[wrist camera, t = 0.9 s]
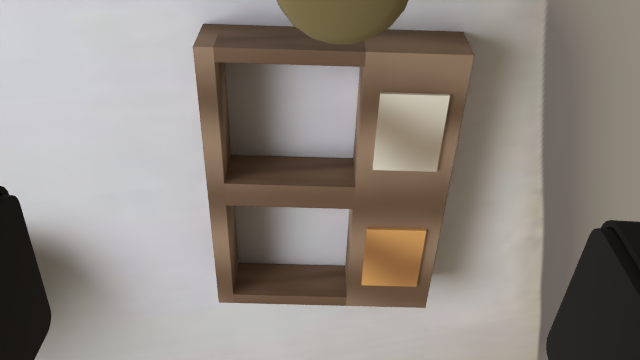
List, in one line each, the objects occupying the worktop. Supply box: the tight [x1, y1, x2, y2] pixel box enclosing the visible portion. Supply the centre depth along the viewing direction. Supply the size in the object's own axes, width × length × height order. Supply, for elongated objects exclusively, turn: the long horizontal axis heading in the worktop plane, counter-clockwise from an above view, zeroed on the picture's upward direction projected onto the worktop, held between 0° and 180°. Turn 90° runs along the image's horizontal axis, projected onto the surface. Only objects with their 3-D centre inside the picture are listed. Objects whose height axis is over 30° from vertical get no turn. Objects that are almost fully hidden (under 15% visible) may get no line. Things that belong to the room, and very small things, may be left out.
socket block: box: [193, 24, 474, 308], centre depth 36 cm, size 18×14×3 cm
